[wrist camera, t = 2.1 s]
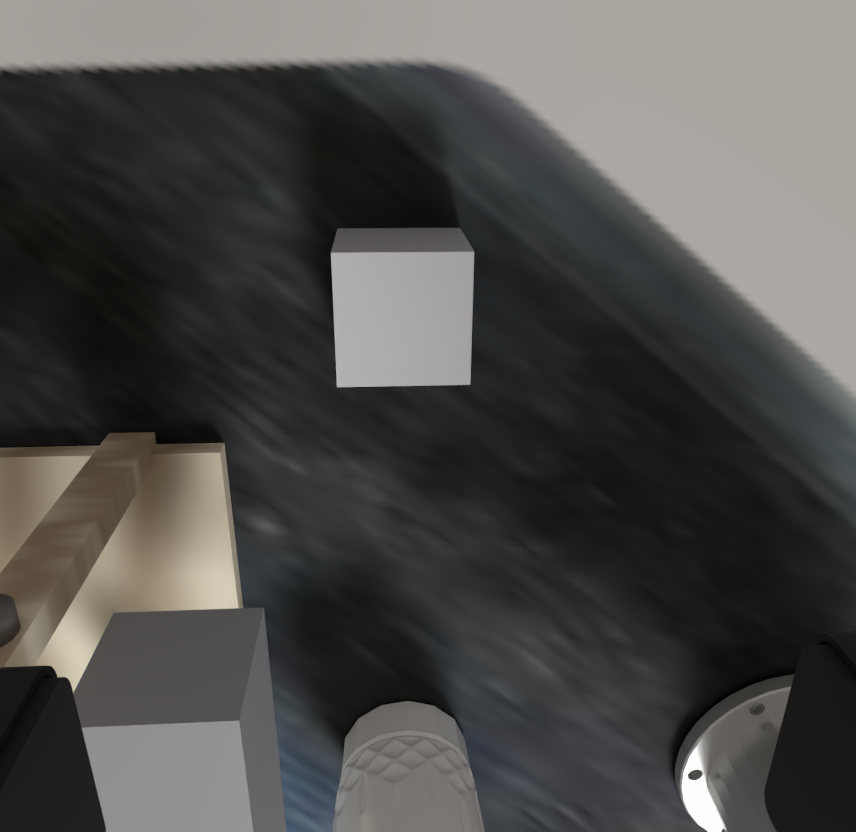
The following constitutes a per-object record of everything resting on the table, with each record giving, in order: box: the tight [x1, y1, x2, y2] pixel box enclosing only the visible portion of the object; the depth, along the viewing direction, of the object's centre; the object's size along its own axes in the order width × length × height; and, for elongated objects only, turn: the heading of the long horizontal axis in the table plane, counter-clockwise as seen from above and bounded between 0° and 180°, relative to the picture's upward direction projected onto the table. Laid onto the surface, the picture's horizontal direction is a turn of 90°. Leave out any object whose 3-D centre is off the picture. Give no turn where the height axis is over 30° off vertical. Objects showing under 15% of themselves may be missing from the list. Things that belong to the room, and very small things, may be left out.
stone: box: [331, 228, 474, 387], centre depth 29 cm, size 5×5×5 cm
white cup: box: [332, 701, 485, 832], centre depth 37 cm, size 8×8×10 cm
